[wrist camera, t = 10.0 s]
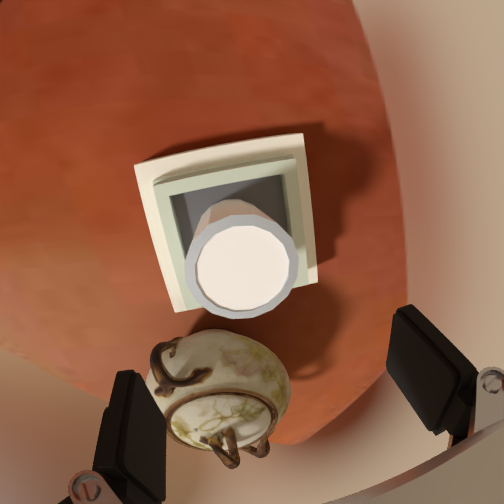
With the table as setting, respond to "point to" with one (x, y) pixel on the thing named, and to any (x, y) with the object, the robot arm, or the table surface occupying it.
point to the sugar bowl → (219, 392)
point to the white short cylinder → (240, 261)
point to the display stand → (221, 188)
